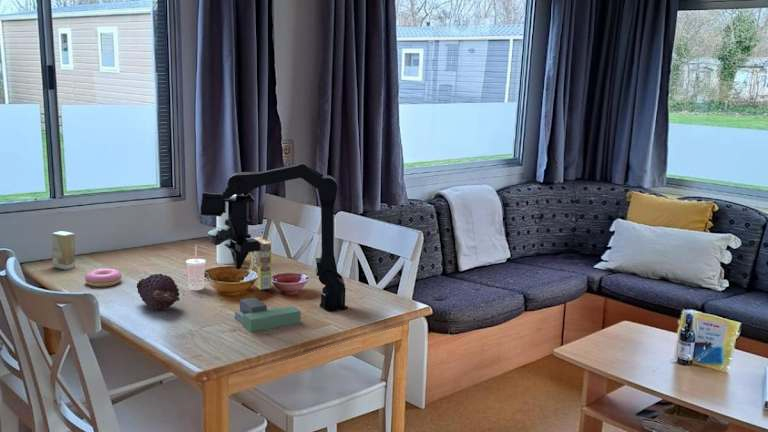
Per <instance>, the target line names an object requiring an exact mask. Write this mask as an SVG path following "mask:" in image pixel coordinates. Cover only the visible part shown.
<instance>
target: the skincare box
mask: <svg viewBox="0 0 768 432" xmlns="http://www.w3.org/2000/svg"><path fill="white" fill-rule="evenodd" d="M75 235H76V234H75V233H74V232H70V231H64V230H61V231H54V232H52V233H51V245H52V246H51V247H52V248H51V249H52V268H57V269H61V270H70V269H73V268H75V267H76V241H75V239H76V236H75Z"/></svg>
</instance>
